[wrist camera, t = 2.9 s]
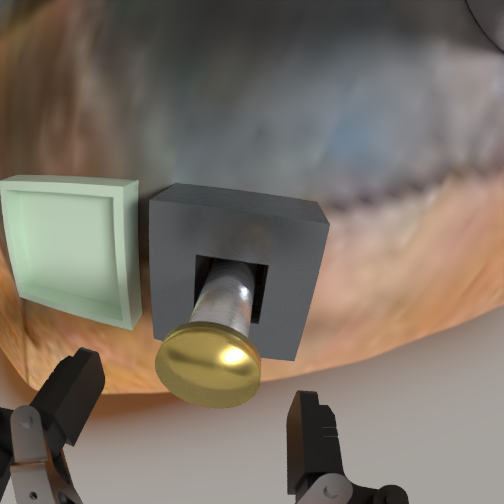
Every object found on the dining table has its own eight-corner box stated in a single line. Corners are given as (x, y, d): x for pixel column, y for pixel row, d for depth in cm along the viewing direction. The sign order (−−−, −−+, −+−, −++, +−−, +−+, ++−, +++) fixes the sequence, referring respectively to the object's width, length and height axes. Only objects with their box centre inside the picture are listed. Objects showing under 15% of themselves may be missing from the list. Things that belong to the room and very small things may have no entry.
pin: (271, 233, 21) (268, 347, 10) (263, 286, 23) (252, 414, 12) (211, 225, 21) (151, 327, 10) (207, 278, 23) (159, 397, 12)
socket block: (317, 202, 20) (330, 224, 16) (291, 319, 24) (294, 361, 20) (176, 183, 20) (149, 199, 16) (173, 301, 24) (153, 338, 20)
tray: (138, 179, 20) (123, 186, 18) (142, 314, 25) (132, 330, 23) (17, 174, 21) (-1, 180, 18) (32, 285, 25) (19, 296, 23)
